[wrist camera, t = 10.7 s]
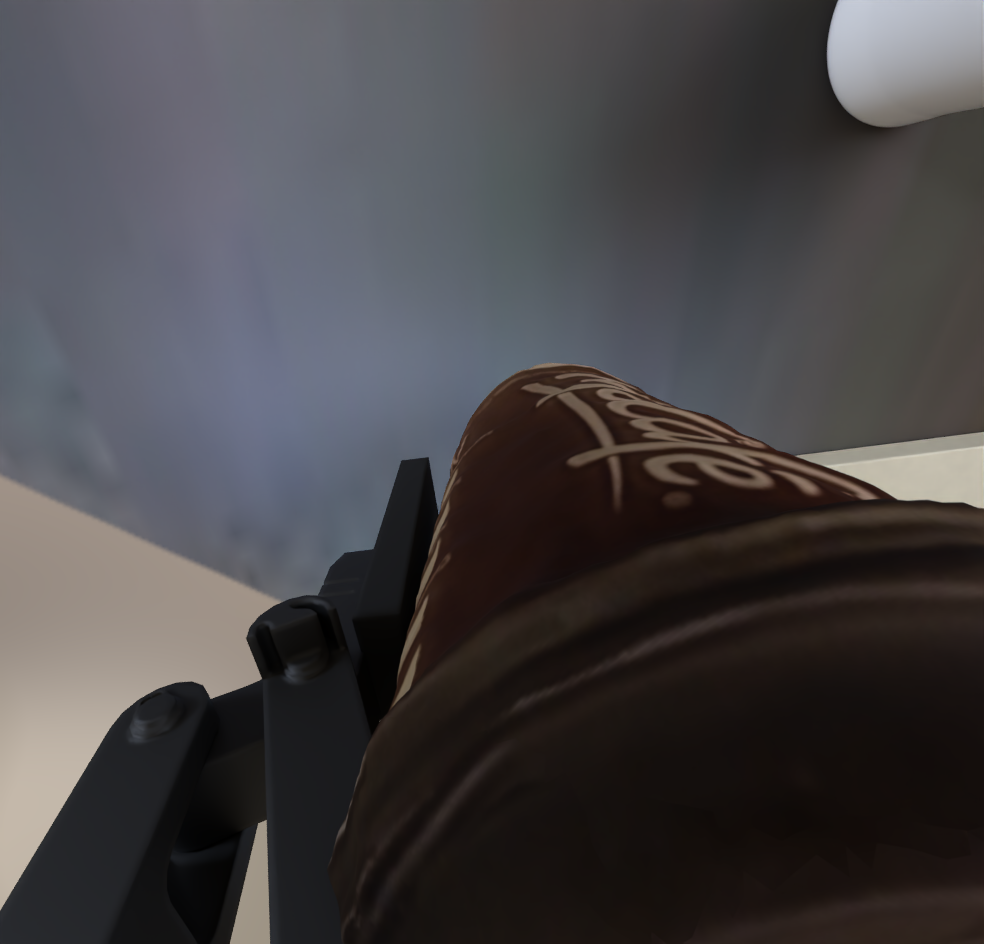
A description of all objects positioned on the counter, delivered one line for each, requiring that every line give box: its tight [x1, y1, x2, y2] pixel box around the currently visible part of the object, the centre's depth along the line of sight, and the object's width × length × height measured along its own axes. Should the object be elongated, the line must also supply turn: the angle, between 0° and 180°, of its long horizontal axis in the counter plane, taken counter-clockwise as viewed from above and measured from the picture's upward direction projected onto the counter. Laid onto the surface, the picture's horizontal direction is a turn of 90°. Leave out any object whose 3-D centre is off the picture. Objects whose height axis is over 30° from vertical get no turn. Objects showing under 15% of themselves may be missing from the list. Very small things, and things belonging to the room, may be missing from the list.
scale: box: [796, 432, 984, 508], centre depth 24 cm, size 18×15×3 cm
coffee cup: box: [327, 363, 984, 944], centre depth 9 cm, size 9×8×13 cm
